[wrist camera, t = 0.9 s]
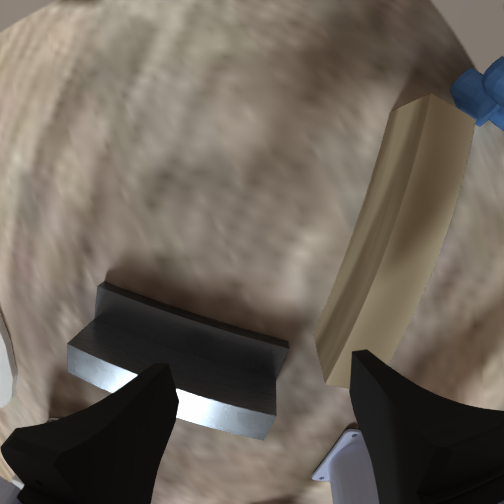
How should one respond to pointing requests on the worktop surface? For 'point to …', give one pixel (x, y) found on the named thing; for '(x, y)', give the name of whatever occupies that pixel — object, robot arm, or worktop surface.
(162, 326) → the balance ridge
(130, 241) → the worktop surface
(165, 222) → the worktop surface
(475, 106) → the grapes
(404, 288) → the maple bar
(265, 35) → the worktop surface
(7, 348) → the dish
